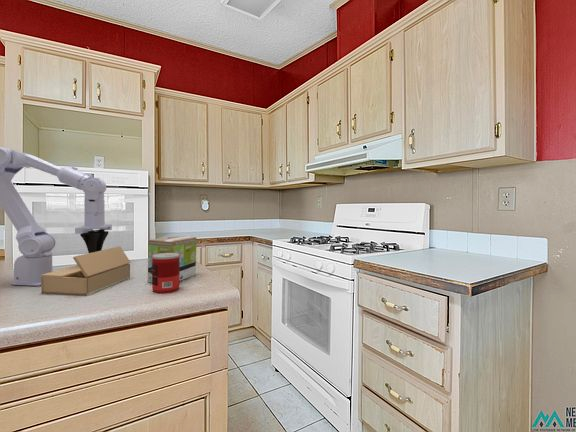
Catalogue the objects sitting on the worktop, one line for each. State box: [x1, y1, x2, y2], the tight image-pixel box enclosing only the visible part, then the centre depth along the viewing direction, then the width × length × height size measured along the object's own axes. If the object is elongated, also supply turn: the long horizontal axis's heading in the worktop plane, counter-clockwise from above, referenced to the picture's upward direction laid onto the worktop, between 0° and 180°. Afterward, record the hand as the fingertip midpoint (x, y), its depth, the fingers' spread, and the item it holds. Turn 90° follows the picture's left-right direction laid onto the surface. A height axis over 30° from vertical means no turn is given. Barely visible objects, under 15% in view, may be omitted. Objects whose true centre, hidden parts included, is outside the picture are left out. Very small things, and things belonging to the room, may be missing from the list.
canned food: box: [151, 253, 180, 294], centre depth 91 cm, size 8×8×11 cm
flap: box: [72, 245, 131, 277], centre depth 94 cm, size 7×20×1 cm
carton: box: [40, 263, 131, 297], centre depth 94 cm, size 14×20×6 cm
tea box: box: [147, 235, 198, 284], centre depth 104 cm, size 15×10×15 cm
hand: (94, 252), depth 100 cm, fingers closed
